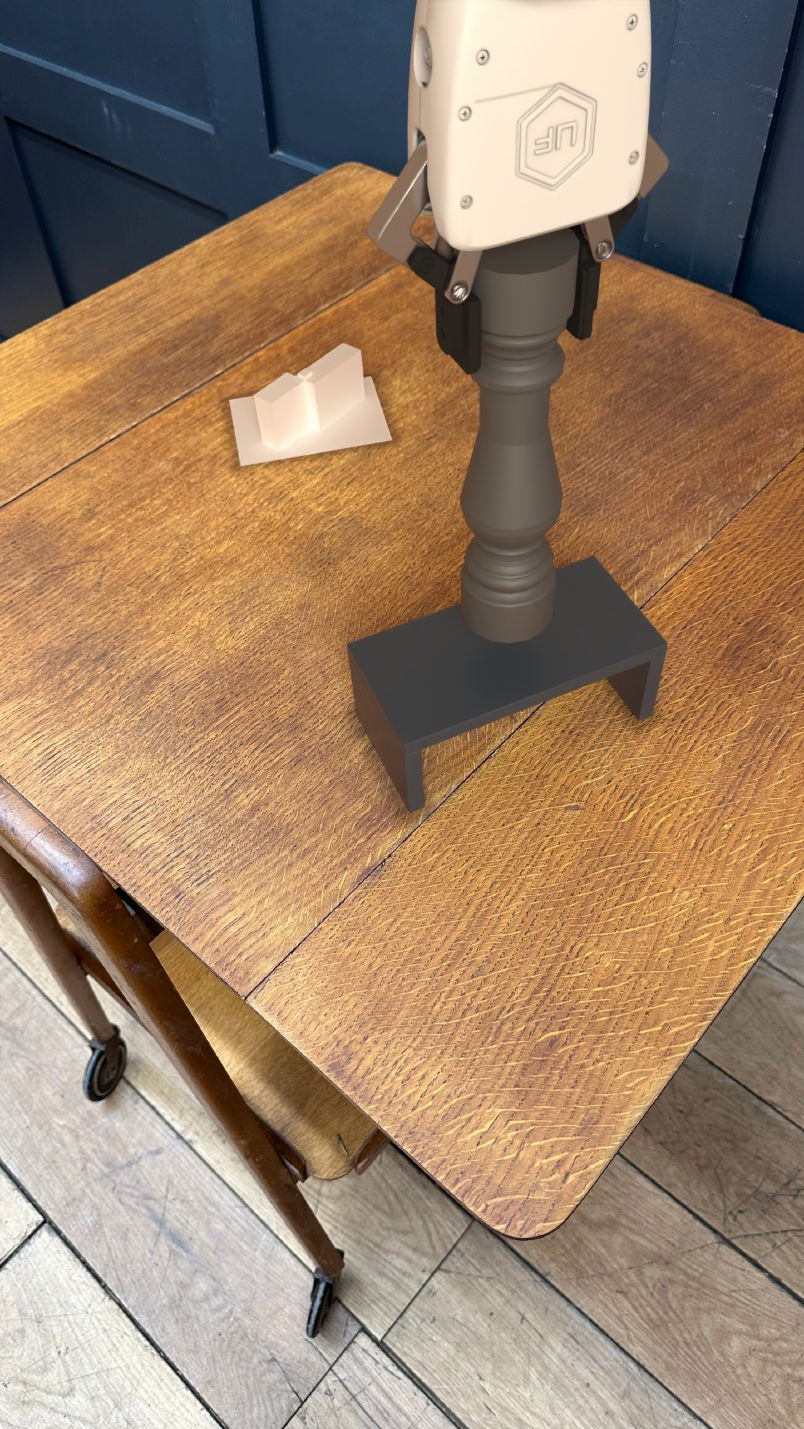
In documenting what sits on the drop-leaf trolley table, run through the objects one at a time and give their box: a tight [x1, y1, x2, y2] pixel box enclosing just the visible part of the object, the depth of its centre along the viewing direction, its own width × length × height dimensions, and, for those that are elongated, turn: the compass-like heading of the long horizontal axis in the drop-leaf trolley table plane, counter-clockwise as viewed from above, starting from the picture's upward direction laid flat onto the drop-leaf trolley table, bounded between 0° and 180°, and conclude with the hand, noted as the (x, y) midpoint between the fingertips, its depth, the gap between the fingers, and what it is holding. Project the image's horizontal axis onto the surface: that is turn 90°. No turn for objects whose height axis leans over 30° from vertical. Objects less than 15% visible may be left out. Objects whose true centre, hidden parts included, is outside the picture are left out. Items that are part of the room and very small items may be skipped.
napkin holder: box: [228, 342, 393, 467], centre depth 100 cm, size 15×11×6 cm
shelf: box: [346, 555, 669, 814], centre depth 75 cm, size 20×10×8 cm, turn 114°
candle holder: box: [459, 228, 579, 643], centre depth 59 cm, size 6×6×25 cm
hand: (516, 340), depth 53 cm, fingers closed on candle holder, 5 cm apart
